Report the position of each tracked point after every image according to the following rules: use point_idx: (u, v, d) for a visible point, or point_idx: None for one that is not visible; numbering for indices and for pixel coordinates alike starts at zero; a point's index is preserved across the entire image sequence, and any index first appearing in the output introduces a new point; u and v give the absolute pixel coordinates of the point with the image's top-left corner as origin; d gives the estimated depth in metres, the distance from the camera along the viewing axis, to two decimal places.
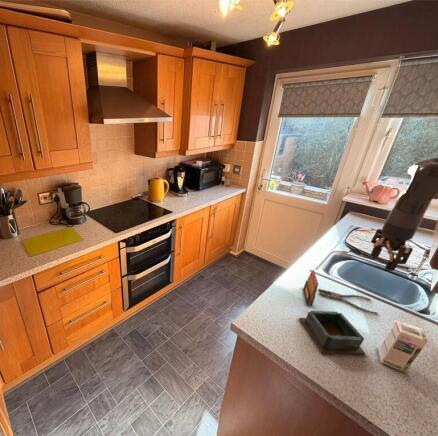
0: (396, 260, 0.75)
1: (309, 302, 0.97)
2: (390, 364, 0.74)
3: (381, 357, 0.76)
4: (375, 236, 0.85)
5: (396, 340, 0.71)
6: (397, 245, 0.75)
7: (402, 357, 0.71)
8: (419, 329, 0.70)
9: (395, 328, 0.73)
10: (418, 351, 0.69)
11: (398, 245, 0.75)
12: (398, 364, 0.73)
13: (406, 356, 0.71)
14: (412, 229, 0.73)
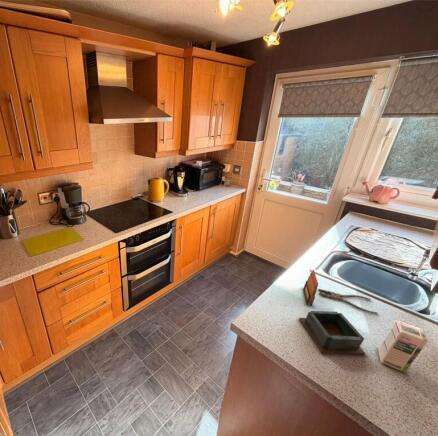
0: None
1: (309, 302, 0.97)
2: (390, 364, 0.74)
3: (381, 357, 0.76)
4: None
5: (396, 340, 0.71)
6: None
7: (402, 357, 0.71)
8: (419, 329, 0.70)
9: (395, 328, 0.73)
10: (418, 351, 0.69)
11: None
12: (398, 364, 0.73)
13: (406, 356, 0.71)
14: None
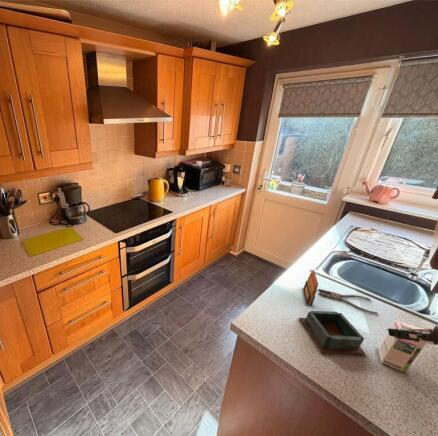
0: None
1: (309, 302, 0.97)
2: (390, 364, 0.74)
3: (381, 357, 0.76)
4: (408, 339, 0.65)
5: (396, 340, 0.71)
6: None
7: (402, 357, 0.71)
8: None
9: (395, 328, 0.73)
10: (418, 351, 0.69)
11: None
12: (398, 364, 0.73)
13: (406, 356, 0.71)
14: None
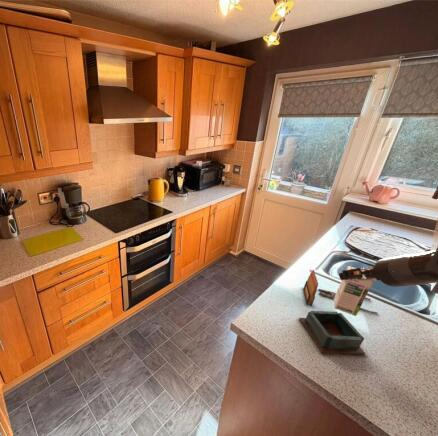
0: None
1: (309, 302, 0.97)
2: (342, 309, 0.76)
3: (335, 304, 0.78)
4: (353, 277, 0.67)
5: (346, 283, 0.73)
6: None
7: (352, 300, 0.73)
8: None
9: None
10: (366, 292, 0.70)
11: None
12: (349, 308, 0.74)
13: (356, 299, 0.72)
14: None
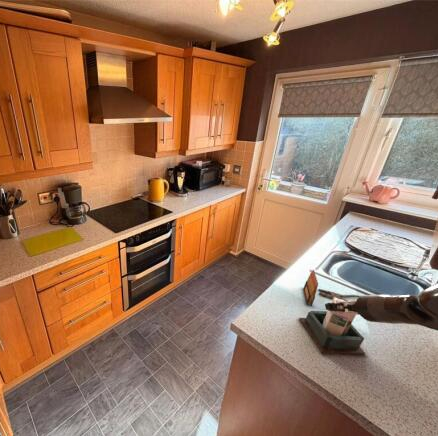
0: None
1: (309, 302, 0.97)
2: None
3: None
4: None
5: (331, 314, 0.78)
6: None
7: (337, 330, 0.79)
8: None
9: None
10: (349, 323, 0.76)
11: None
12: None
13: (340, 329, 0.78)
14: None
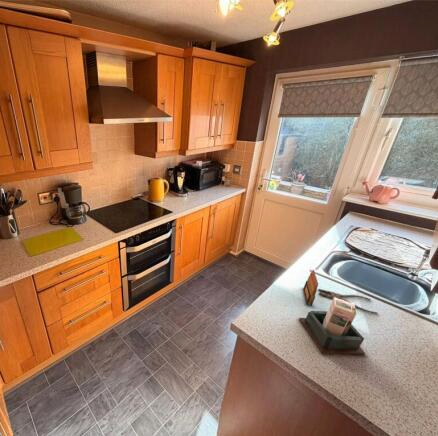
0: None
1: (309, 302, 0.97)
2: None
3: None
4: None
5: (331, 314, 0.78)
6: None
7: (337, 330, 0.79)
8: (352, 304, 0.78)
9: (332, 304, 0.80)
10: (349, 323, 0.76)
11: None
12: None
13: (340, 329, 0.78)
14: None
